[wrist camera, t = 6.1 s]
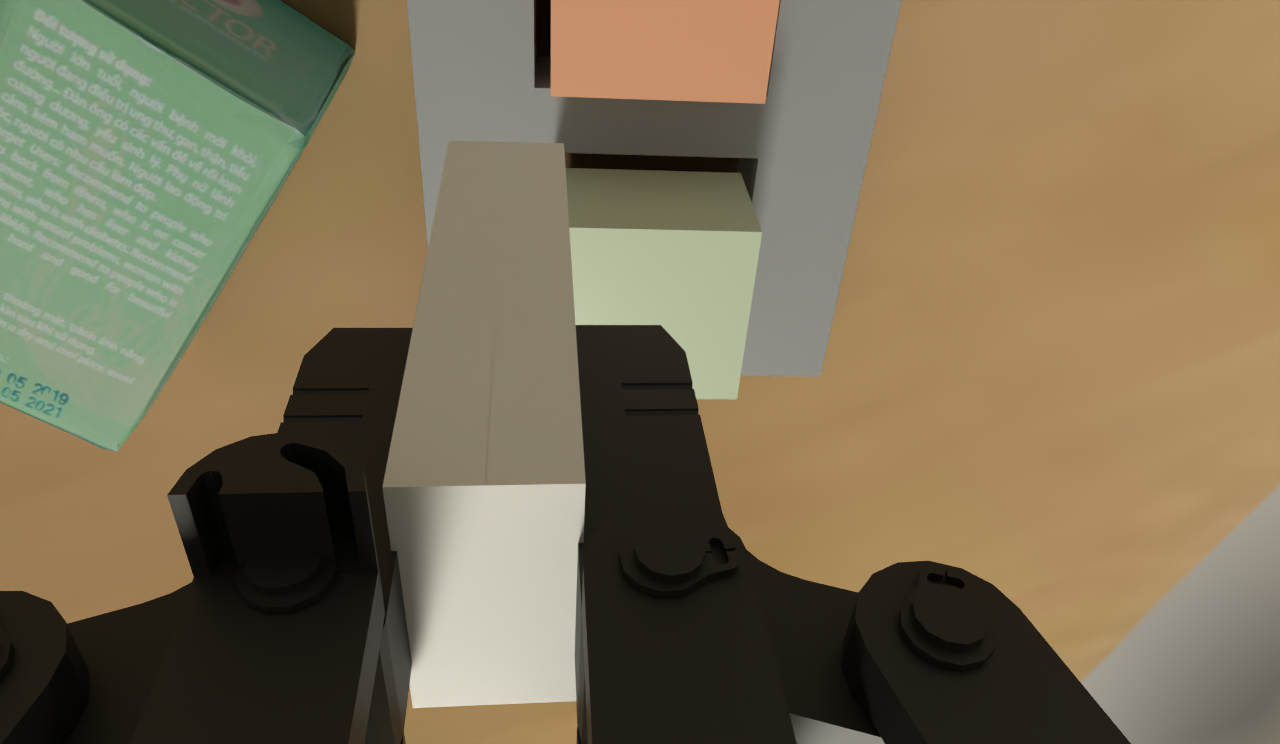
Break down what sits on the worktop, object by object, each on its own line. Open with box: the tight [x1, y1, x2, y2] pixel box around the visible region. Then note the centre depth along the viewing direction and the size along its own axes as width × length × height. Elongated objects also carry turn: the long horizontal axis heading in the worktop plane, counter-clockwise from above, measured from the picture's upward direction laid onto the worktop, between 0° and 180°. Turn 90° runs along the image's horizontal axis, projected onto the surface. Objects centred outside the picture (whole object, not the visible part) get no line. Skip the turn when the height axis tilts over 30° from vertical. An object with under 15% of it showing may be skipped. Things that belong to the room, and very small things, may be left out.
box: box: [0, 0, 355, 452], centre depth 28 cm, size 7×14×8 cm, turn 143°
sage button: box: [566, 168, 762, 399], centre depth 29 cm, size 6×6×4 cm
